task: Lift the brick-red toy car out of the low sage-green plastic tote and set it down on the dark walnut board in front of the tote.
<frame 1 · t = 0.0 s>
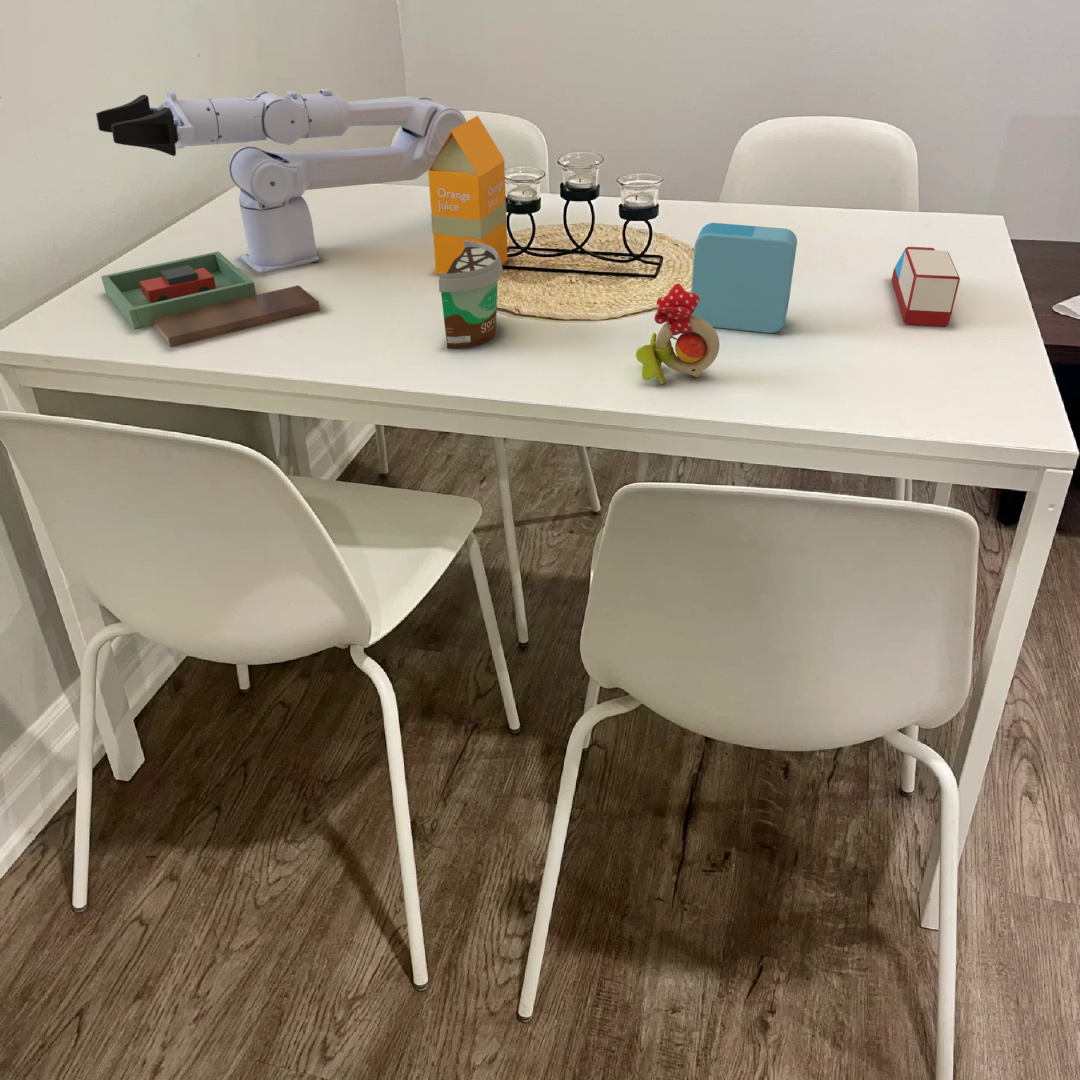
hand: (105, 127, 128), 22 cm above the table, tool horizontal, fingers open, 7 cm apart
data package: (737, 324, 129), on the table
bird rattle: (675, 377, 117), on the table
tote: (181, 298, 138), on the table
toy car: (180, 296, 138), resting on tote
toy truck: (918, 304, 133), on the table
food container: (480, 336, 127), on the table
board: (238, 320, 131), on the table
orange juice: (472, 268, 146), on the table
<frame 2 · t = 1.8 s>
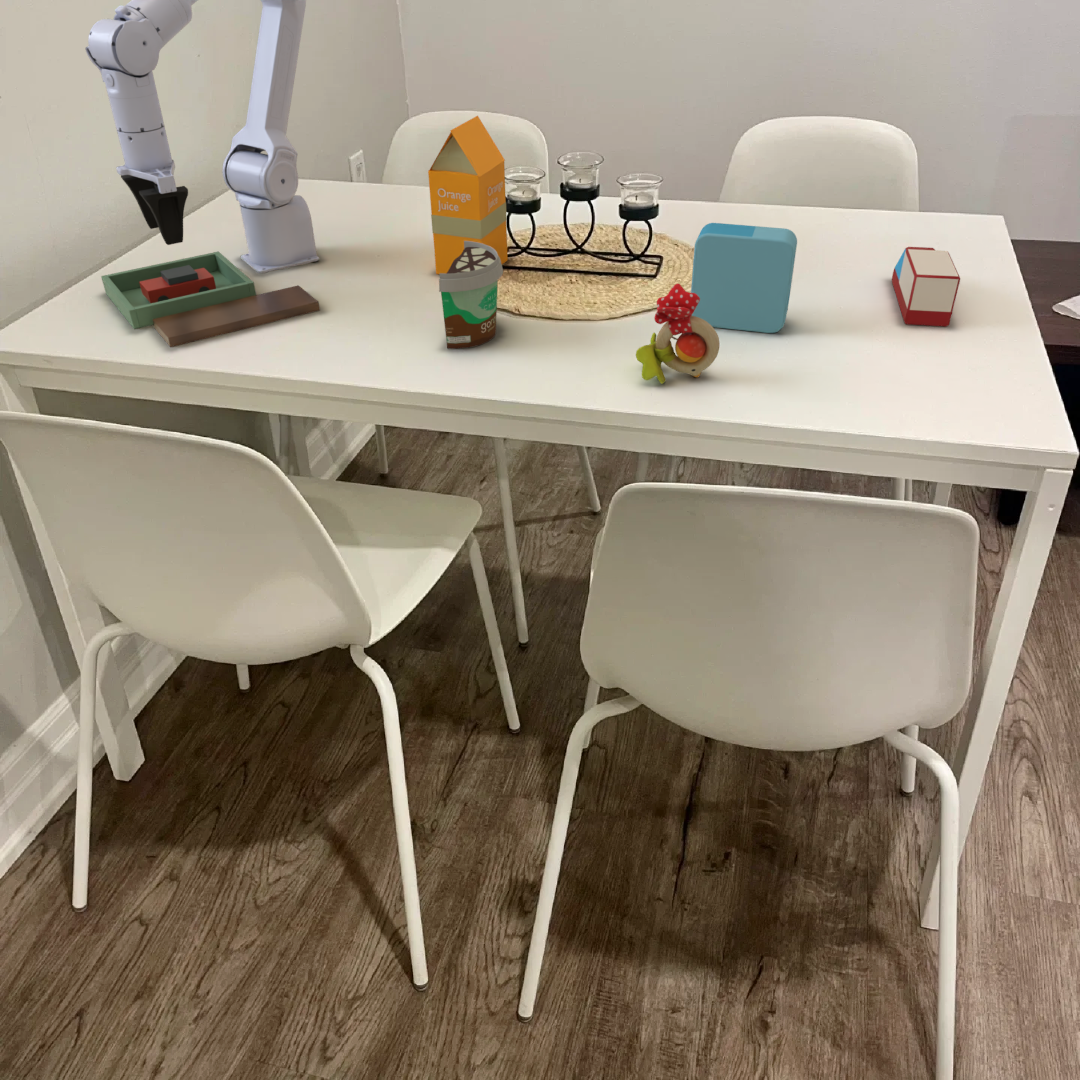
hand: (165, 234, 133), 9 cm above the table, tool pointing down, fingers open, 7 cm apart
nothing on the table moved.
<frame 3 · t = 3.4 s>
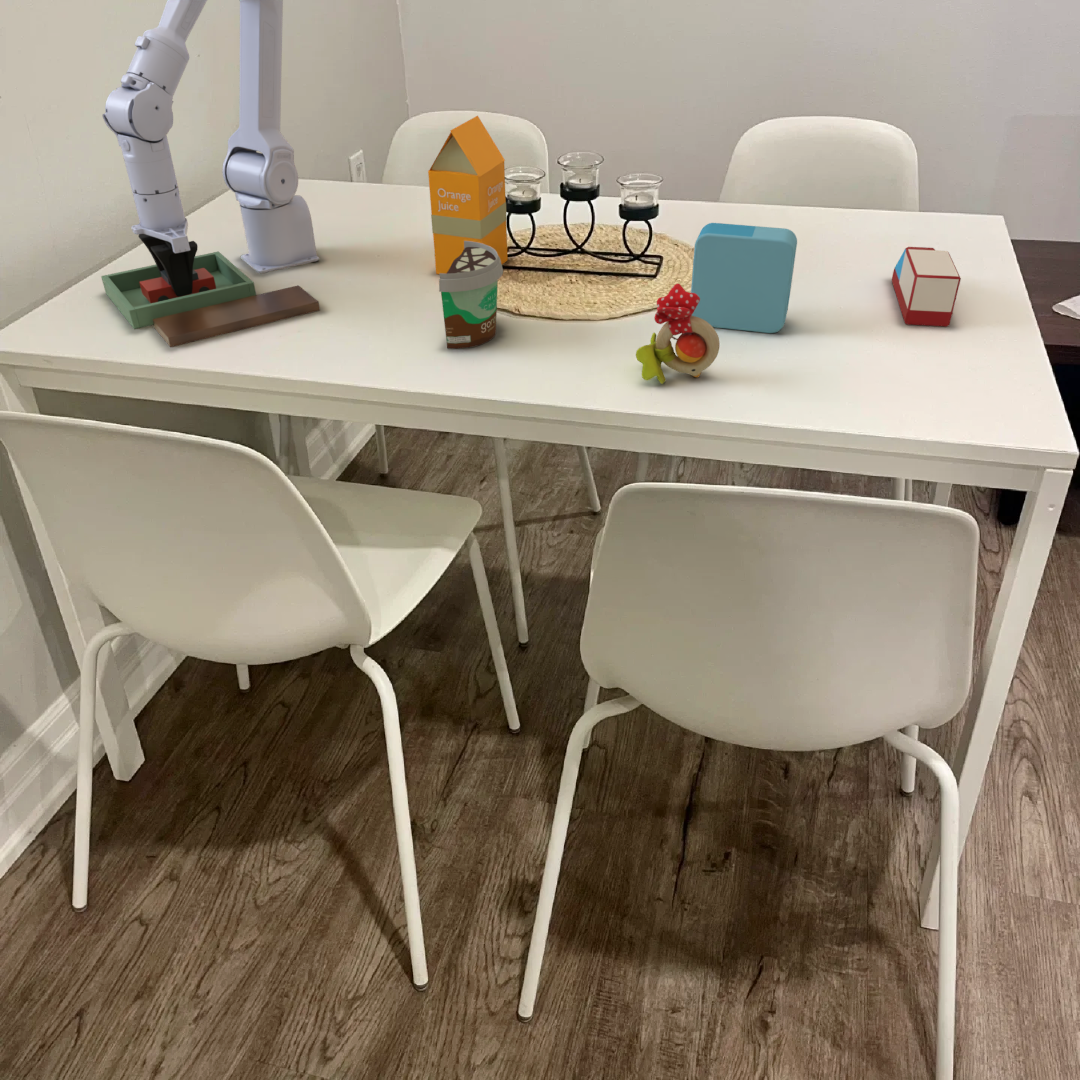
hand: (178, 288, 137), 1 cm above the table, tool pointing down, fingers closed on toy car, 4 cm apart
toy car: (180, 296, 138), resting on tote, touching gripper
everything else where it was.
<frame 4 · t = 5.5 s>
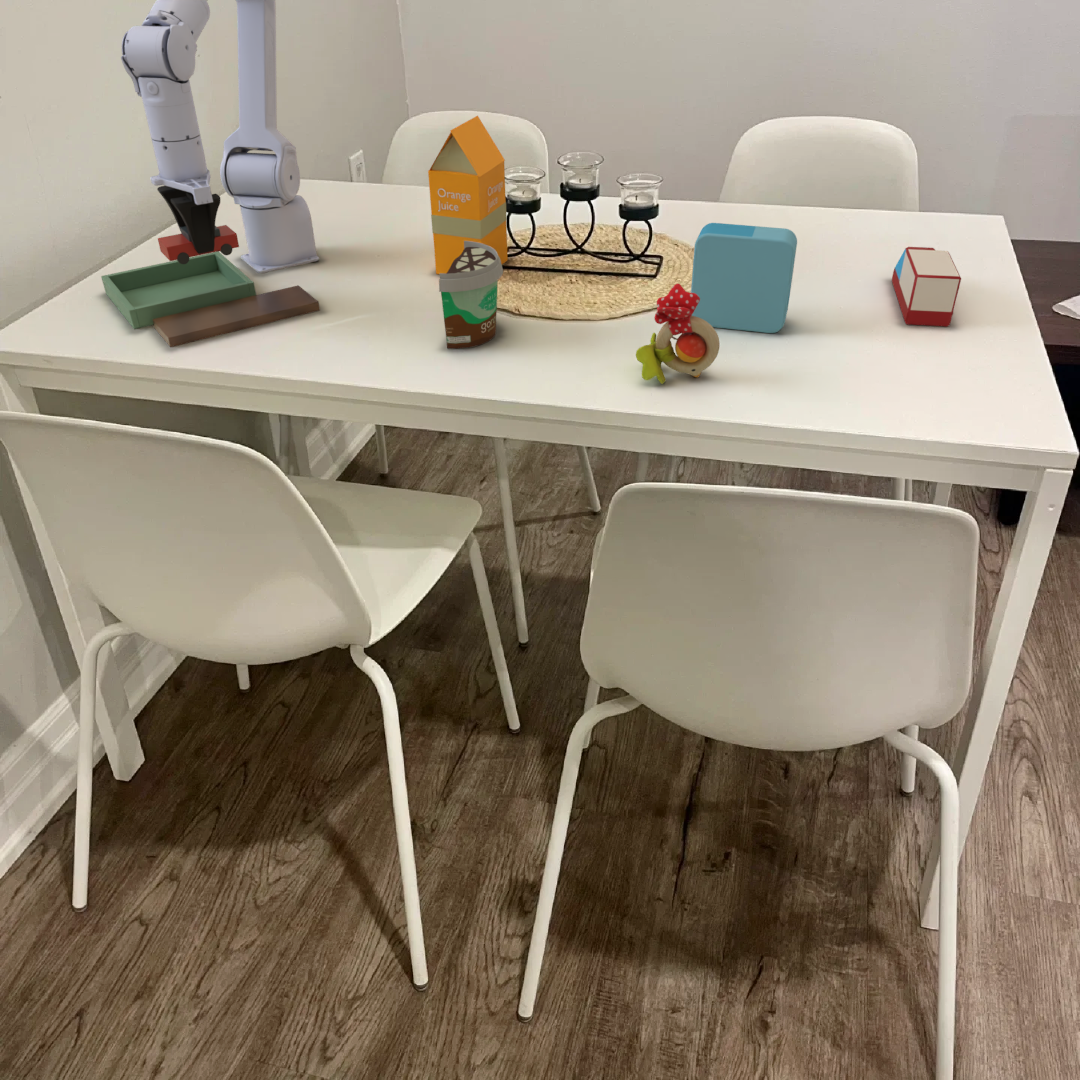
hand: (199, 246, 129), 9 cm above the table, tool pointing down, fingers closed on toy car, 4 cm apart
toy car: (201, 254, 129), point 8 cm above the table, touching gripper
everything else where it was.
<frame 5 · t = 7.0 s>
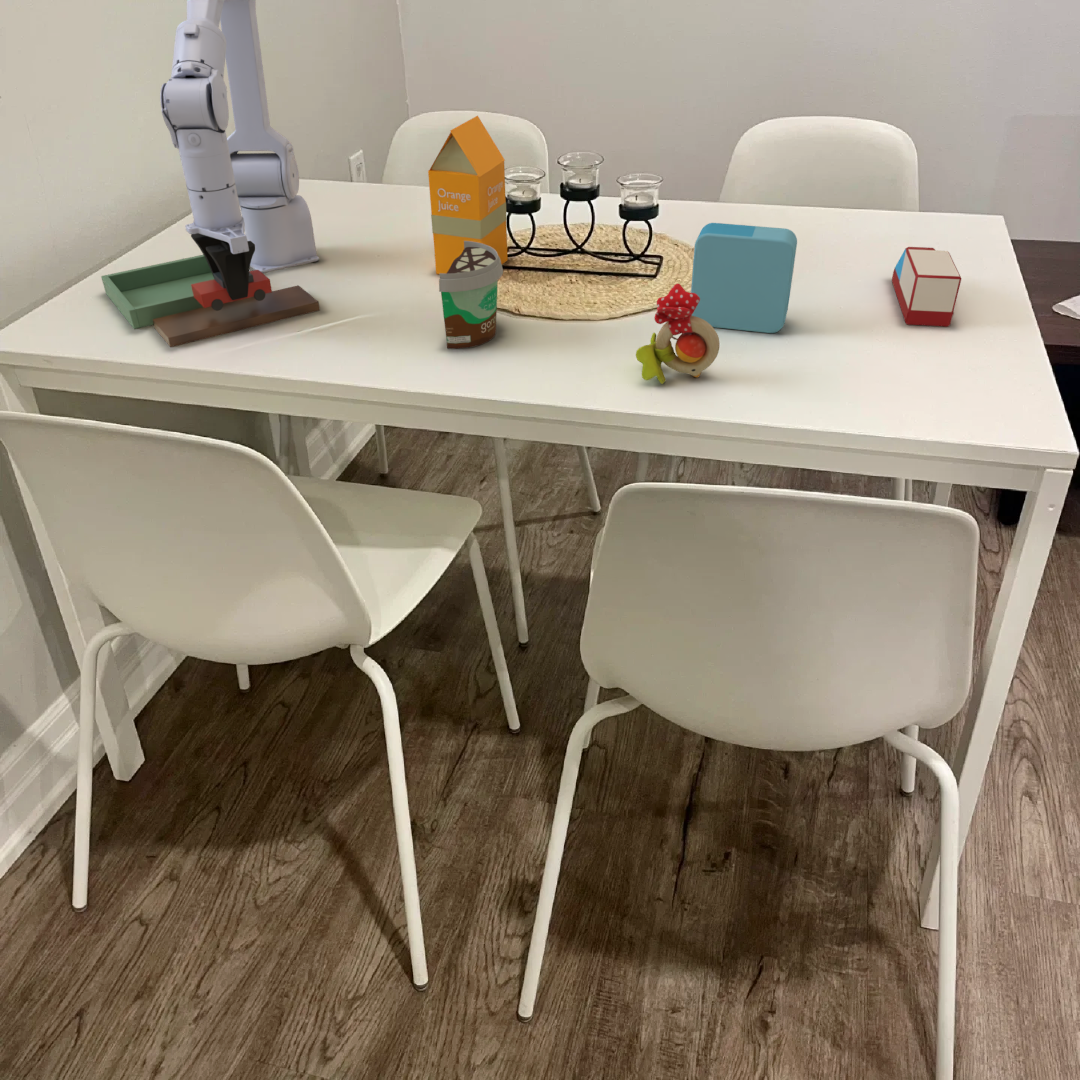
hand: (232, 291, 129), 4 cm above the table, tool pointing down, fingers closed on toy car, 4 cm apart
toy car: (234, 300, 130), point 3 cm above the table, touching gripper
everything else where it was.
when the fingers open (3 cm above the table, at t = 7.9 s): toy car stays where it is, resting on board.
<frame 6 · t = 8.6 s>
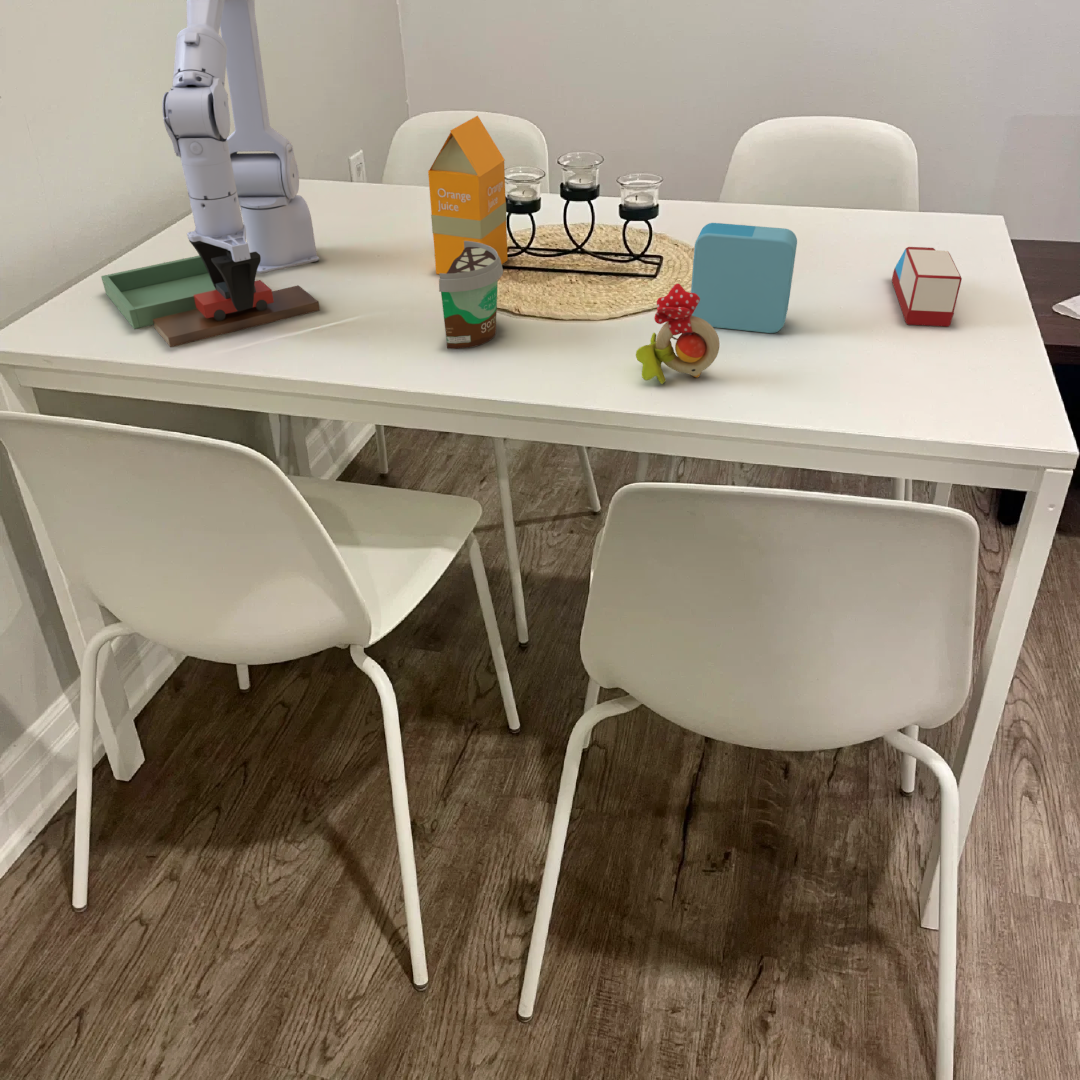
hand: (234, 298, 130), 3 cm above the table, tool pointing down, fingers open, 7 cm apart
toy car: (236, 310, 130), point 1 cm above the table, touching board
everything else where it was.
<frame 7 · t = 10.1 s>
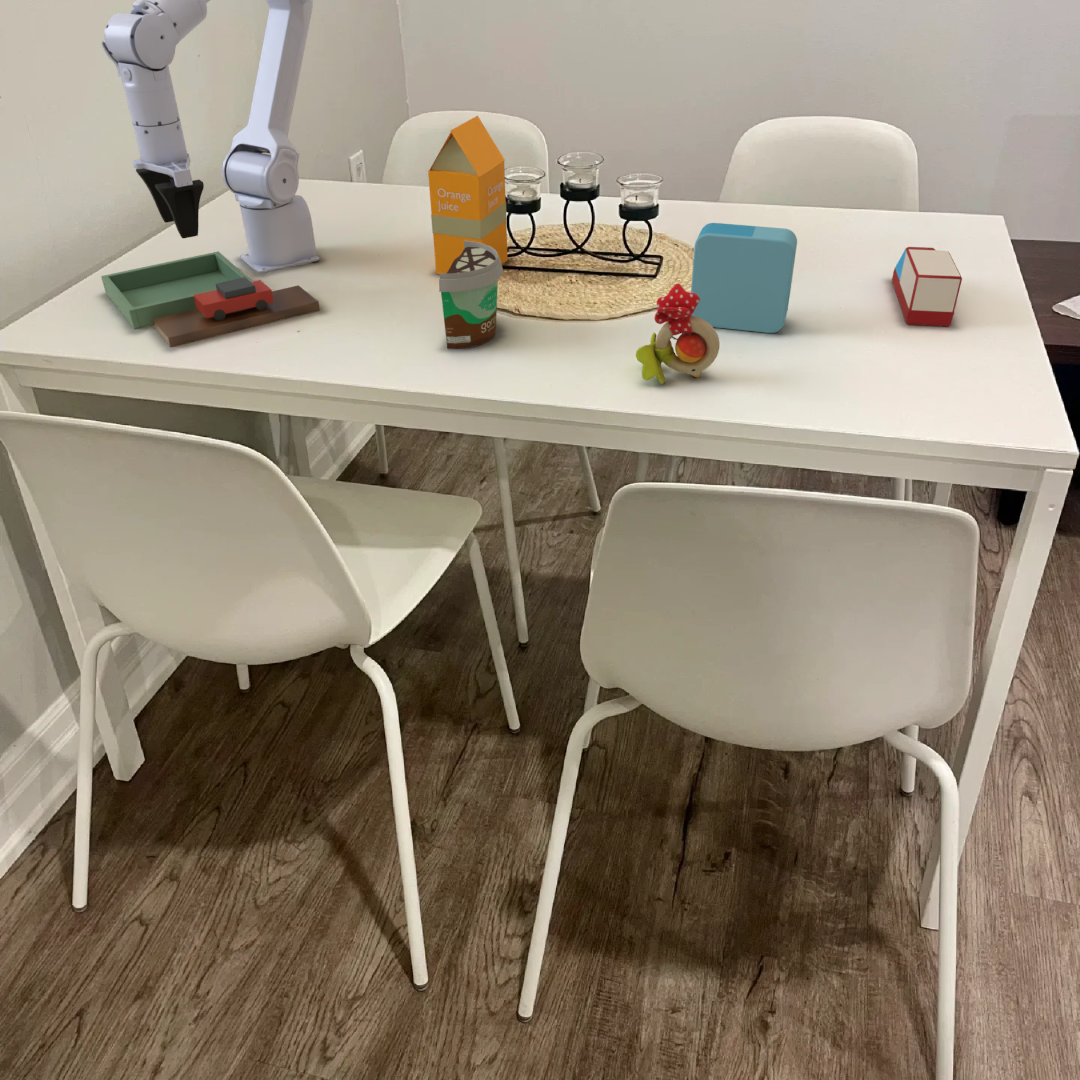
hand: (180, 228, 133), 9 cm above the table, tool pointing down, fingers open, 7 cm apart
nothing on the table moved.
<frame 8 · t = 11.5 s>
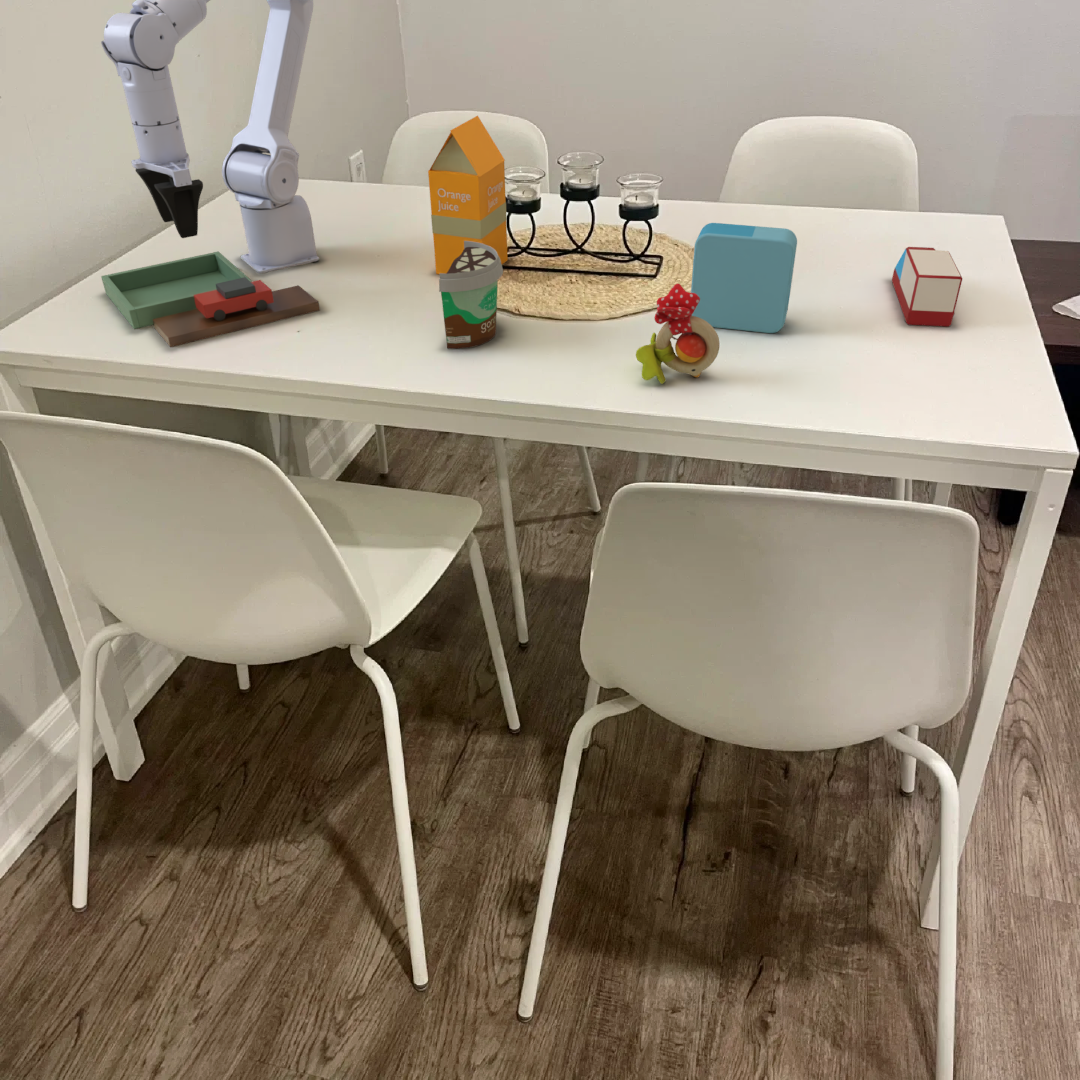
hand: (180, 228, 133), 9 cm above the table, tool pointing down, fingers open, 7 cm apart
nothing on the table moved.
at the end: toy car inside the target area on the board (0.1 cm from its centre), point 1.5 cm above the board's base; toy car tilted 0°; toy car touching board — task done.
